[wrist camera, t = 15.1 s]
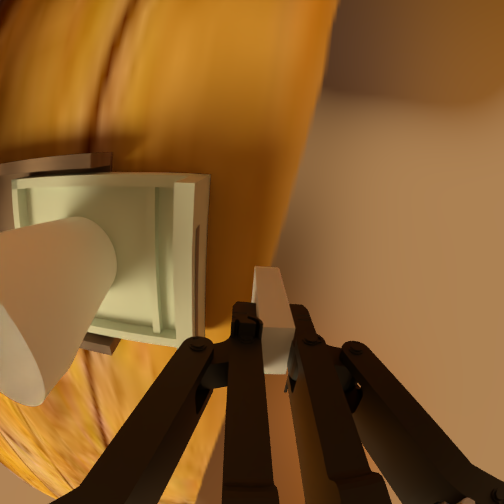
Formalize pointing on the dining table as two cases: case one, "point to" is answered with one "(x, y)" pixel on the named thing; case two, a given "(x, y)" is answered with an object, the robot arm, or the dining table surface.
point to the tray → (136, 245)
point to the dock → (3, 217)
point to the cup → (49, 300)
